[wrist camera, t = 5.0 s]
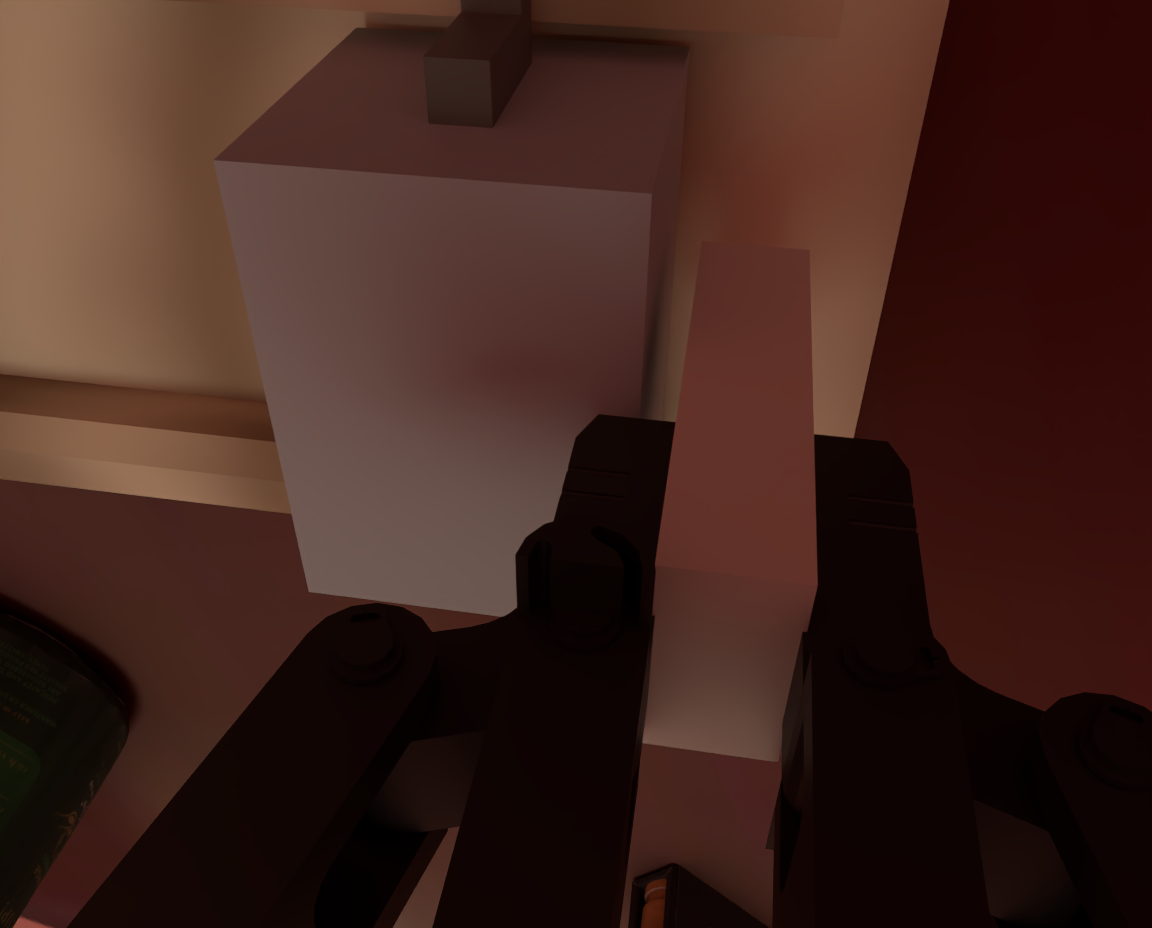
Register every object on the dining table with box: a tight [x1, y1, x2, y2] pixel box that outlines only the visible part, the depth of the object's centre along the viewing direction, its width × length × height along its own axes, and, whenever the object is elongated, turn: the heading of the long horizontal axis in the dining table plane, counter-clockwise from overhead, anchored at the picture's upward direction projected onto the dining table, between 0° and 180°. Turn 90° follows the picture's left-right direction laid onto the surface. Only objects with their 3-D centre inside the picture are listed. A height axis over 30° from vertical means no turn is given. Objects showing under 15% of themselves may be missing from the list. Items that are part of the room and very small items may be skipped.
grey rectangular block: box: [213, 0, 690, 617], centre depth 14 cm, size 5×11×5 cm, turn 0°
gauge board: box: [0, 0, 949, 514], centre depth 18 cm, size 22×14×2 cm, turn 90°
